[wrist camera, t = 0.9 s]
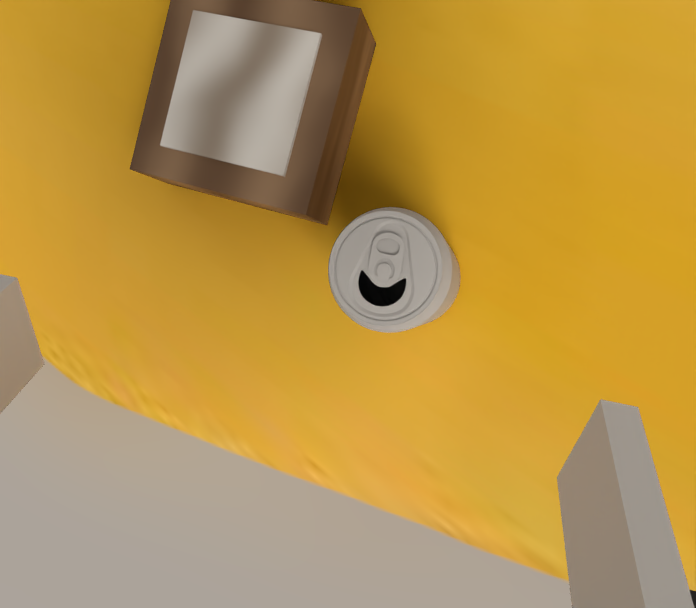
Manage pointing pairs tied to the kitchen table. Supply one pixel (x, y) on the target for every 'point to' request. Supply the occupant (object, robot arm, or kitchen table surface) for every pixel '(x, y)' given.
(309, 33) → the walnut riser
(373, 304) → the beverage can
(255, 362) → the kitchen table surface
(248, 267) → the kitchen table surface
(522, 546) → the kitchen table surface
